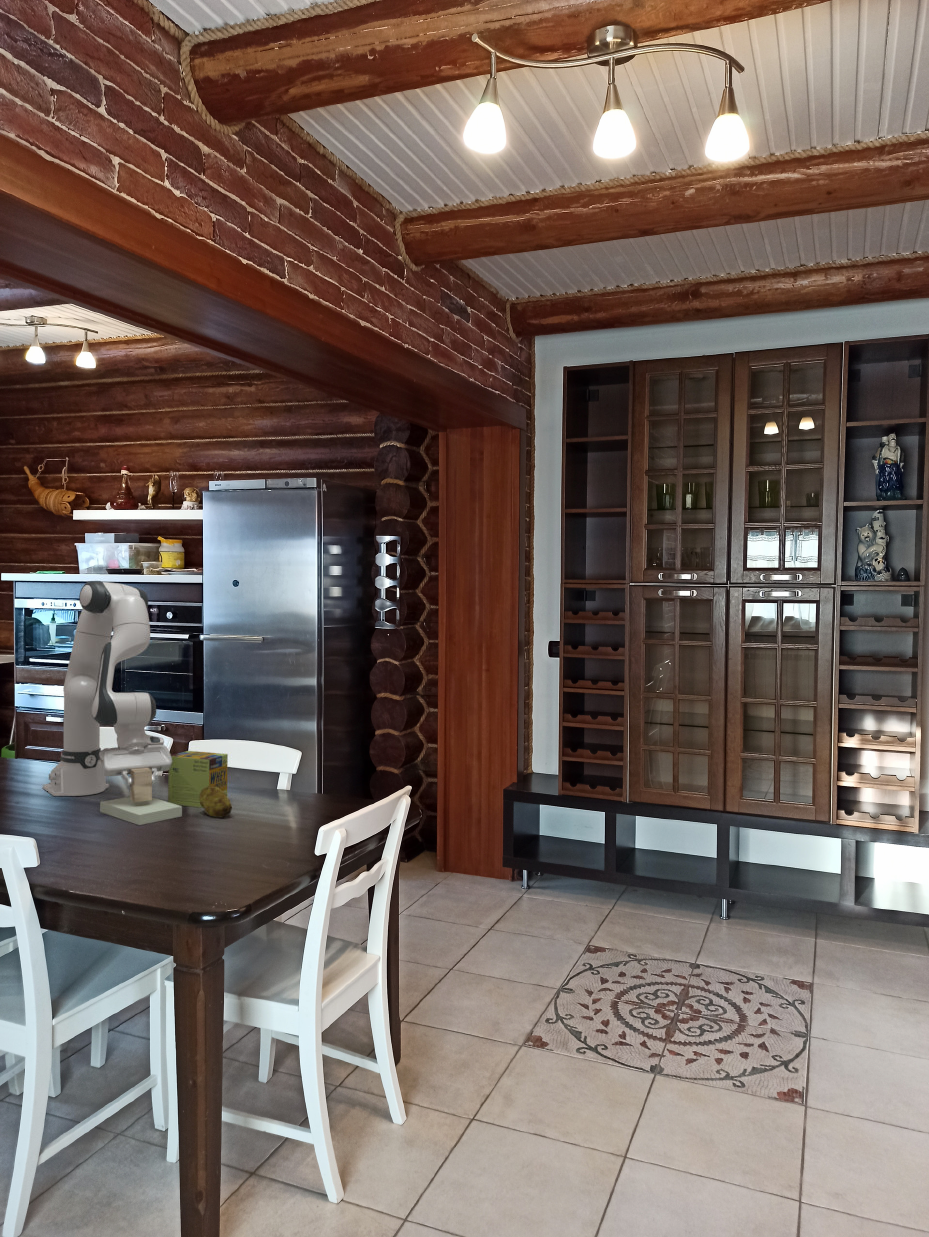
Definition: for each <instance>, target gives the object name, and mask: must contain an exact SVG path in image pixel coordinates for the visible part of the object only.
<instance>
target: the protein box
mask: <svg viewBox="0 0 929 1237" xmlns="http://www.w3.org/2000/svg"><path fill="white" fill-rule="evenodd" d="M170 755H171V758H172V766H171V768H170V769H169V770H168V791H167V792H168V793H167V794H168V795H167V796H168V798H167V799H168V800H167V802H169V803H172V804H176V805H179V806H182V807H183V806H185V807H192V808H200V807H201V808H202V809H204V808H203V807H202V806H201V804H200V800H199V797H200V793H201V791H202V790H203V789H205V788H206V787H209V786H215V787H218V788H219V789H220V790H221V791H223V792H224V793H225V794H226V795H227V796H228V753H218V752H210V751H209V752H208V751H197V750H194V751H193V750H187V751H183V752H179V753H175V754H170Z"/></svg>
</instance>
